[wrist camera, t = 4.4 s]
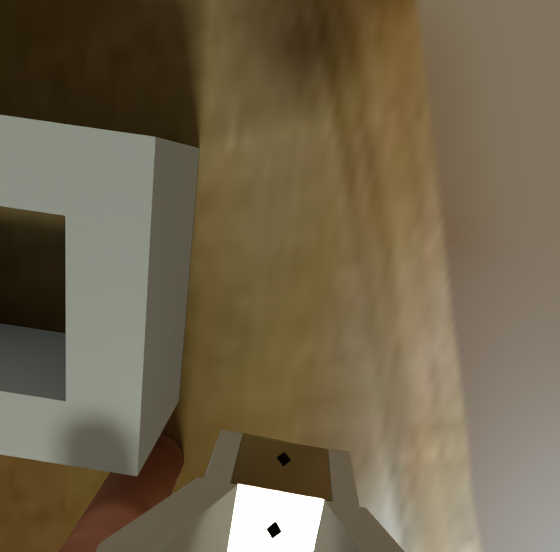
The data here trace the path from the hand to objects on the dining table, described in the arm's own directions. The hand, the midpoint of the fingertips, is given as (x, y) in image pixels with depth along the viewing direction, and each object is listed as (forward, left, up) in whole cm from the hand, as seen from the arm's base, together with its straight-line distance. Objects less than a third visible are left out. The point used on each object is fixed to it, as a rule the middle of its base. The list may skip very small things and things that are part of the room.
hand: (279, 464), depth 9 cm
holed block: (-1, -11, -9) cm, 14 cm away
